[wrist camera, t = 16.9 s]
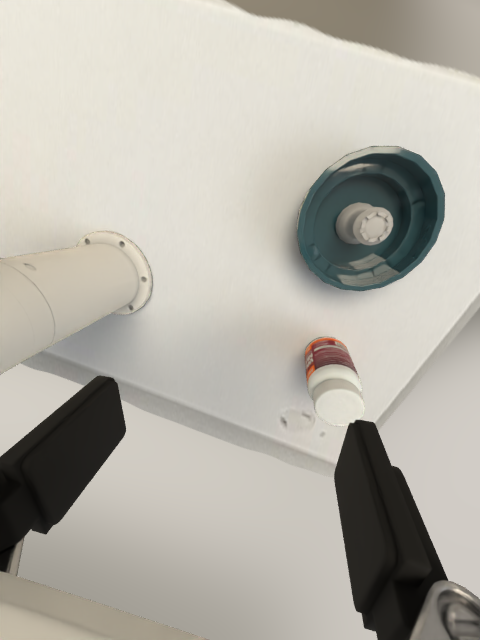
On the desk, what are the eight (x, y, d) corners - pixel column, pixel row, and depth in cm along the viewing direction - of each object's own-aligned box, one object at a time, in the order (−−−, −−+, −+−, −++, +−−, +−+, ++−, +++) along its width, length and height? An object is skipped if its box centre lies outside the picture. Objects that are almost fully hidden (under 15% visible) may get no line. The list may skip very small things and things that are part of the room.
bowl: (290, 273, 33) (290, 284, 28) (305, 157, 28) (308, 145, 23) (397, 283, 31) (417, 296, 26) (435, 159, 26) (469, 146, 21)
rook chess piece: (363, 249, 30) (385, 260, 22) (328, 235, 30) (339, 243, 23) (384, 210, 28) (416, 209, 21) (346, 196, 28) (366, 190, 21)
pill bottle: (300, 339, 36) (304, 388, 26) (345, 332, 35) (367, 381, 25) (308, 373, 38) (314, 431, 28) (350, 368, 37) (373, 428, 27)
